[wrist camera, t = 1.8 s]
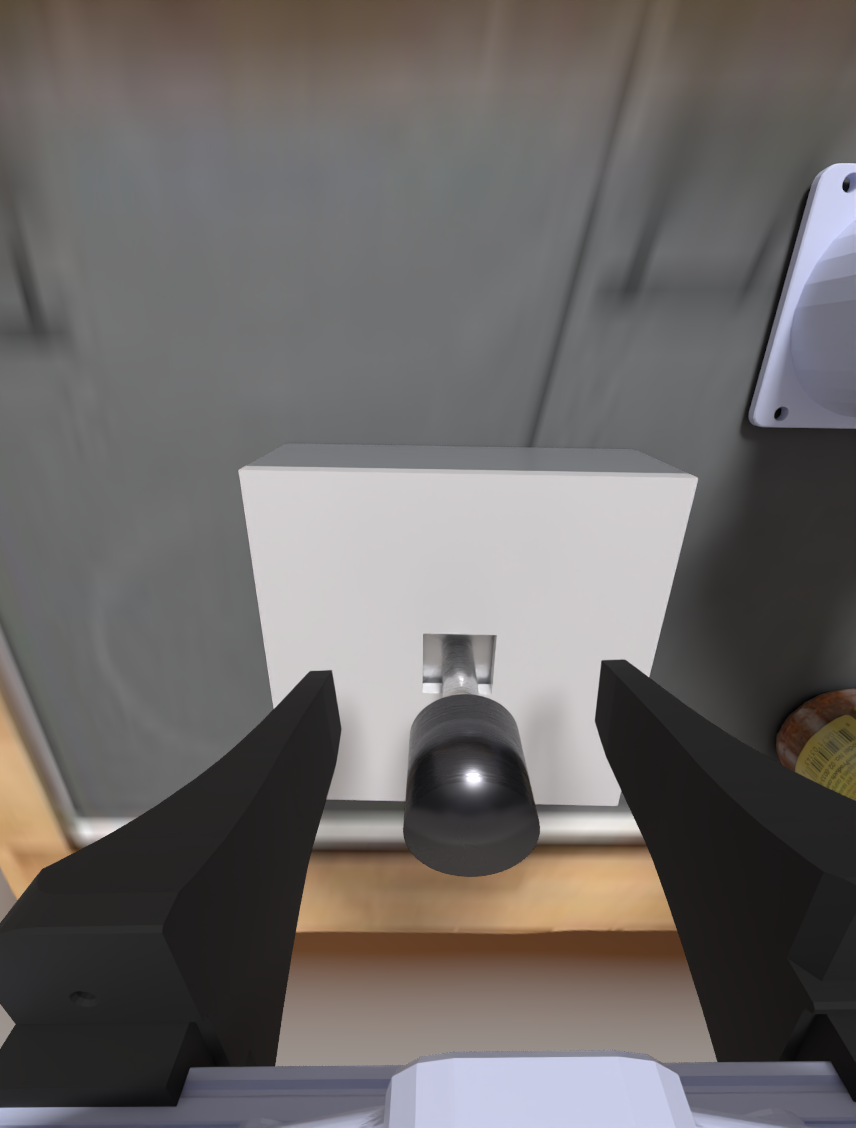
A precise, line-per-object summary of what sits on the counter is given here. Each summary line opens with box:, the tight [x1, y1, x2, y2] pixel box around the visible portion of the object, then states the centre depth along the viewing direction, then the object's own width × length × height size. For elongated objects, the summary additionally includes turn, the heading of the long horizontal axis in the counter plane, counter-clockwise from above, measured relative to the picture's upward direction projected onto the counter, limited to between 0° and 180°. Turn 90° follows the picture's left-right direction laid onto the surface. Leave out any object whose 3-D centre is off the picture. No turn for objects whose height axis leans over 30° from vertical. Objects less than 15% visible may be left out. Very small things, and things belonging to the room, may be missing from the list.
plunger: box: [403, 634, 540, 877], centre depth 15 cm, size 11×11×8 cm
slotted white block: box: [239, 443, 698, 806], centre depth 19 cm, size 14×14×5 cm
